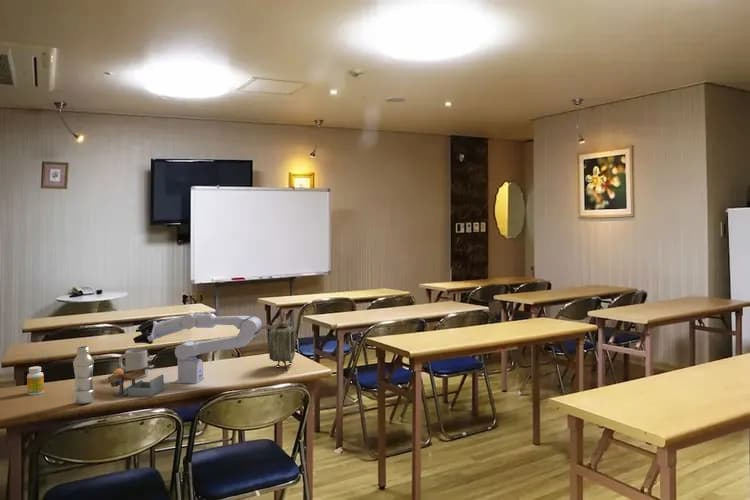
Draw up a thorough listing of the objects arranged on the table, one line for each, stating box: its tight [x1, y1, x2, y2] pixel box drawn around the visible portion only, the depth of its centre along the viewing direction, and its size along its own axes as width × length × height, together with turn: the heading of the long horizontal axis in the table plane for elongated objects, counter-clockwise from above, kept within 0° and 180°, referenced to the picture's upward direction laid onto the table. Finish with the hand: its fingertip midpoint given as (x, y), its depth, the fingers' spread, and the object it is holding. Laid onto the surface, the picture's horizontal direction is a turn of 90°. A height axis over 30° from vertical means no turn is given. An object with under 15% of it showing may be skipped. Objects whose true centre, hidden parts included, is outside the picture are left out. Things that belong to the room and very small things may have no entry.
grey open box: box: [127, 374, 165, 398], centre depth 216 cm, size 9×9×6 cm
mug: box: [118, 348, 149, 381], centre depth 240 cm, size 12×8×11 cm
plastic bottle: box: [72, 345, 96, 405], centre depth 204 cm, size 6×7×20 cm
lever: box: [107, 364, 155, 388], centre depth 220 cm, size 11×13×4 cm
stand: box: [113, 378, 136, 398], centre depth 217 cm, size 5×11×7 cm, turn 172°
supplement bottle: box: [26, 365, 45, 396], centre depth 217 cm, size 5×5×10 cm
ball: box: [112, 367, 125, 376], centre depth 217 cm, size 4×4×4 cm
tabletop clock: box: [268, 310, 296, 370], centre depth 252 cm, size 14×9×25 cm, turn 179°
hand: (137, 336), depth 233 cm, fingers open, 7 cm apart
